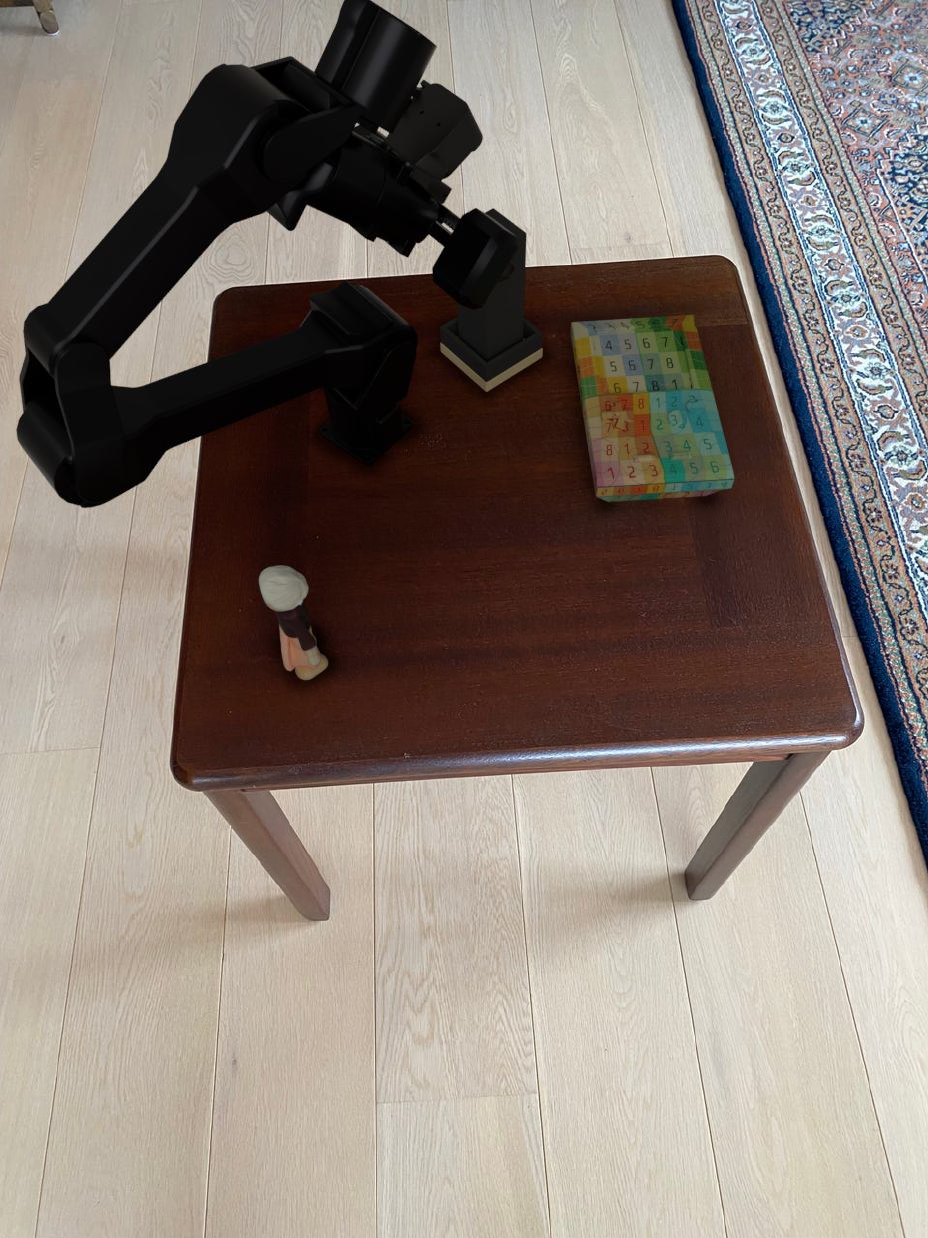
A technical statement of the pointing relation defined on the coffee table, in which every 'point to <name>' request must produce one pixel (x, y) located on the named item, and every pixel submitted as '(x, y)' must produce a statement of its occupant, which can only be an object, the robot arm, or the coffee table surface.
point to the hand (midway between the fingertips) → (476, 244)
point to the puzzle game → (649, 409)
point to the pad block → (498, 306)
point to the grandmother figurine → (292, 620)
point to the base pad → (499, 366)
